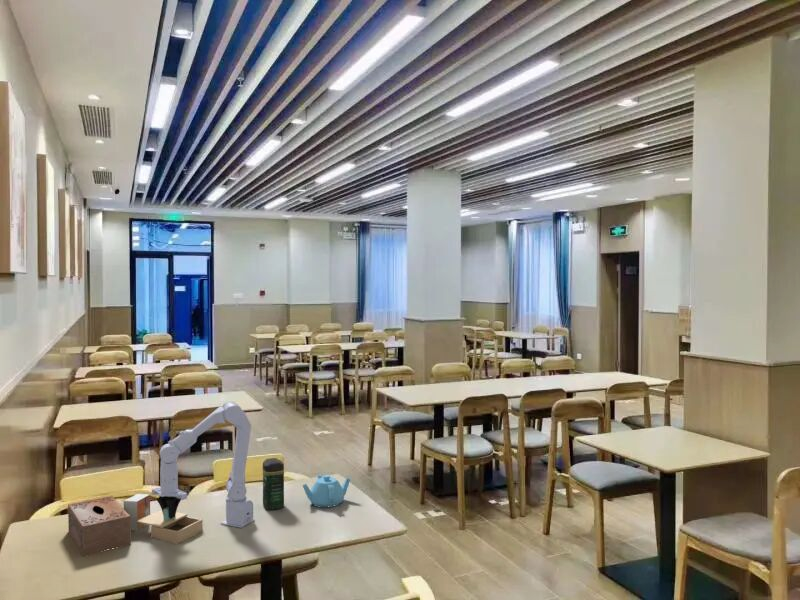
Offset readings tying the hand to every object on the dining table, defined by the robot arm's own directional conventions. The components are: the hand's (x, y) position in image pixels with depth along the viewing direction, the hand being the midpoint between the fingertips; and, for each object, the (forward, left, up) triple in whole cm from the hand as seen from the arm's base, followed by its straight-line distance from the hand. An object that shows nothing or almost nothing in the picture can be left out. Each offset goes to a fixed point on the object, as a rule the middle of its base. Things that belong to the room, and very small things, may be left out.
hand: (169, 516), depth 211 cm
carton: (-3, 0, -6) cm, 7 cm away
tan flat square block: (+3, 0, -1) cm, 4 cm away
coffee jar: (-18, -36, -6) cm, 41 cm away
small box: (+16, 0, -6) cm, 17 cm away
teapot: (-35, -48, -6) cm, 60 cm away
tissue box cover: (+20, +13, -6) cm, 24 cm away
